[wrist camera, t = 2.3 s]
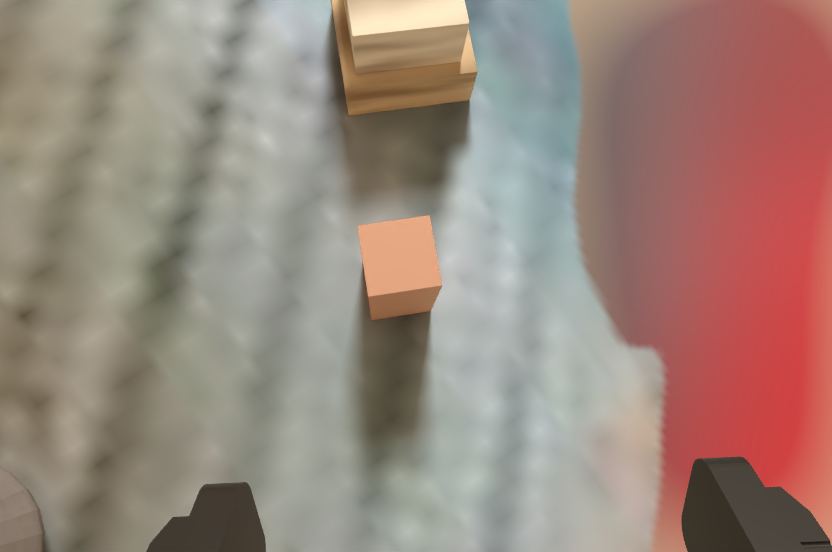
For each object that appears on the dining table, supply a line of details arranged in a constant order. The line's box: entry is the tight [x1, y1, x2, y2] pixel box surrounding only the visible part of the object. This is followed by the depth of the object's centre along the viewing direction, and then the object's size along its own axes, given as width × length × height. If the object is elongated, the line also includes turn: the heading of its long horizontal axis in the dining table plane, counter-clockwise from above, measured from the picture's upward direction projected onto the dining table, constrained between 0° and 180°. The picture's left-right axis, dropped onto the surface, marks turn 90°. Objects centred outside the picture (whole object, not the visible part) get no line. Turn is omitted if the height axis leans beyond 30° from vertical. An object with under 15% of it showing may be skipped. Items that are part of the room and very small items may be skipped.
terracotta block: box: [358, 215, 442, 320], centre depth 41 cm, size 4×4×9 cm
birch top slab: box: [344, 0, 469, 74], centre depth 43 cm, size 8×8×4 cm
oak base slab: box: [331, 0, 477, 115], centre depth 48 cm, size 10×10×4 cm
